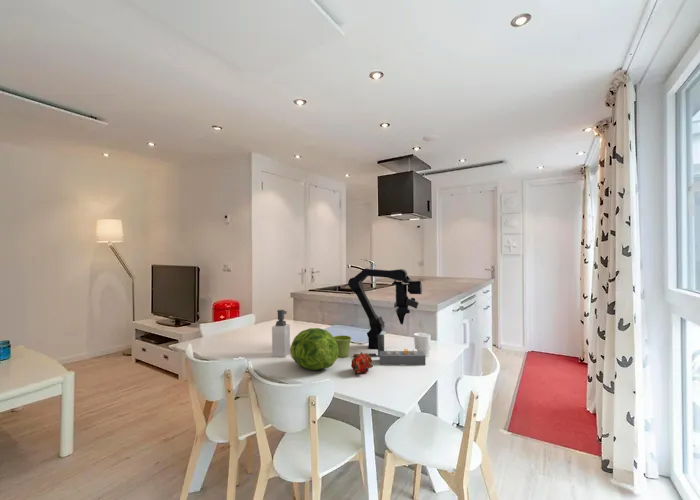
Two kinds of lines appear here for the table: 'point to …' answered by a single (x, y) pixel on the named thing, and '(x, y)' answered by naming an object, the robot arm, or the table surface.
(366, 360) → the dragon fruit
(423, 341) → the white cup
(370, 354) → the dark grey thin rod
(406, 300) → the robot arm
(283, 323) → the soap dispenser
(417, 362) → the breaker strip
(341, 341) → the plant pot
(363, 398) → the table surface
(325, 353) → the lettuce
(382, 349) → the post
